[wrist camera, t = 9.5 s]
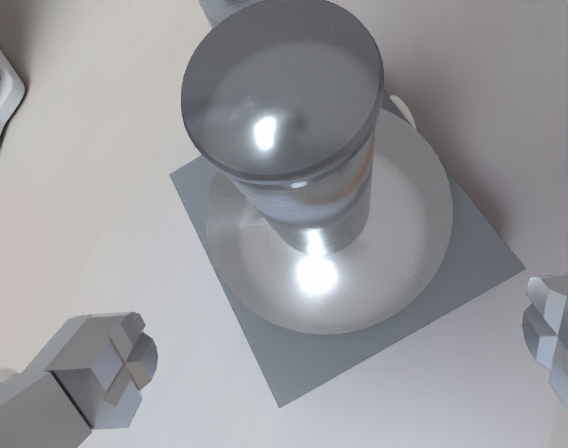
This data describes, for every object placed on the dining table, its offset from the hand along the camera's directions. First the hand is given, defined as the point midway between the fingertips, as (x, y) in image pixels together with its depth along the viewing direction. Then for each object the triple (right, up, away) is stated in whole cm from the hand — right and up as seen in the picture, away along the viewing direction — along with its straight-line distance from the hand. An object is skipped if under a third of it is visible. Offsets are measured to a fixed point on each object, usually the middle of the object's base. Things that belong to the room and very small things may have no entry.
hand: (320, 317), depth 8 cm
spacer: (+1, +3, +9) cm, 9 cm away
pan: (+1, +3, +10) cm, 10 cm away
